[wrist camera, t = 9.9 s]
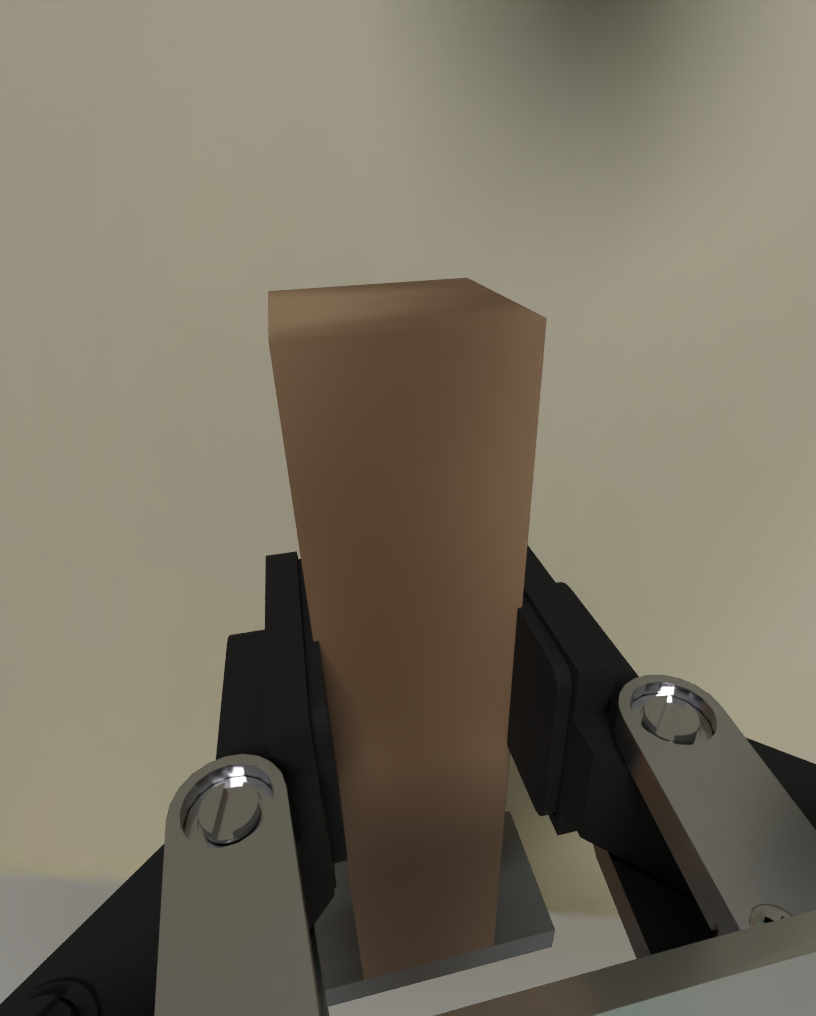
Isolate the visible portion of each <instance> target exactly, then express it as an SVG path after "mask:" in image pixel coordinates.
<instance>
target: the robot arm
mask: <svg viewBox="0 0 816 1016" xmlns="http://www.w3.org/2000/svg"><path fill="white" fill-rule="evenodd" d="M507 746H508V748H509V750H510V753H511V755H512V757H513V759H514V762H515V764H516V766H517V769H518V771H519V773H520V776H521V778H522V780H523V782H524V785H525V787H526V789H527V792H528V794H529V796H530V799H531V801H532V803H533V805H534V808H535V810H536V812H537V813H538V814H539V815H540V816H544V815H549V817H550V820H551V822H552V824H553V826H554V828H555V831H556V833H557V835H561V834H565V833H570V832H574V831H578V834H579V836H580V837H581V838H583V839H585V840H587V841H589V842H591V843H592V844H593V845H594V849H595V854H596V857H597V860H598V862H599V865H600V867H601V870H602V872H603V875H604V877H605V880H606V883H607V885H608V888H609V890H610V893H611V895H612V898H613V900H614V903H615V905H616V908H617V910H618V913H619V915H620V918H621V920H622V923H623V925H624V928H625V930H626V933H627V935H628V938H629V941H630V943H631V946H632V948H633V951H634V953H635V956H636V958H637V959H635V960H632V961H628V962H624V963H621V964H618V965H614V966H610V967H606V968H603V969H600V970H596V971H592V972H588V973H585V974H581V975H578V976H574V977H571V978H567V979H563V980H560V981H557V982H553V983H549V984H546V985H542V986H538V987H535V988H532V989H528V990H524V991H521V992H517V993H514V994H510V995H506V996H503V997H499V998H496V999H492V1000H488V1001H485V1002H482V1003H478V1004H474V1005H471V1006H467V1007H463V1008H460V1009H456V1010H453V1011H450V1012H446V1013H442V1014H439V1015H436V1016H816V764H814V763H811V762H808V761H806V760H803V759H801V758H798V757H795V756H793V755H790V754H787V753H785V752H782V751H779V750H777V749H774V748H772V747H769V746H766V745H764V744H761V743H758V742H756V741H753V740H751V739H748V738H745V736H744V735H743V734H742V733H741V731H740V730H739V729H738V727H737V726H736V725H735V723H734V722H733V721H732V719H731V718H730V717H729V715H728V714H727V713H726V711H725V710H724V709H723V708H722V706H721V705H720V704H719V703H718V702H717V701H716V700H715V699H714V698H713V697H712V696H711V695H710V694H709V693H707V692H706V691H704V690H703V689H701V688H700V687H698V686H697V685H695V684H692V683H690V682H687V681H685V680H683V679H680V678H676V677H671V676H667V675H645V676H641V677H639V676H638V675H637V674H636V672H635V671H634V670H633V669H632V667H631V666H630V665H629V663H628V662H627V661H626V660H625V658H624V657H623V656H622V654H621V653H620V652H619V650H618V649H617V648H616V647H615V645H614V644H613V643H612V641H611V640H610V639H609V638H608V636H607V635H606V634H605V632H604V631H603V630H602V628H601V627H600V626H599V625H598V623H597V622H596V621H595V619H594V618H593V617H592V616H591V614H590V613H589V612H588V610H587V609H586V608H585V606H584V605H583V604H582V603H581V601H580V600H579V599H578V597H577V596H576V595H575V594H574V592H573V591H572V590H571V588H570V587H569V586H568V585H567V584H566V583H562V582H558V583H556V582H555V581H554V580H553V578H552V577H551V576H550V574H549V573H548V572H547V570H546V569H545V568H544V566H543V565H542V564H541V562H540V561H539V560H538V558H537V557H536V556H535V554H534V553H533V552H532V550H531V549H530V548H529V546H528V545H527V555H526V567H525V579H524V591H523V603H522V607H520V608H518V609H517V621H516V634H515V646H514V659H513V672H512V684H511V697H510V709H509V722H508V735H507ZM344 861H348V856H347V848H346V839H345V831H344V822H343V814H342V805H341V797H340V789H339V780H338V773H337V766H336V759H335V752H334V745H333V738H332V731H331V724H330V717H329V710H328V703H327V696H326V689H325V682H324V675H323V668H322V661H321V654H320V647H319V641H315V642H313V635H312V629H311V622H310V615H309V608H308V602H307V595H306V588H305V582H304V575H303V568H302V561H301V559H298V556H297V552H290V553H283V554H276V555H268V556H266V585H265V630H259V631H253V632H247V633H240V634H234V635H230V636H229V637H228V641H227V650H226V660H225V671H224V681H223V691H222V702H221V712H220V723H219V733H218V744H217V754H216V760H215V761H213V762H210V763H208V764H206V765H205V766H203V767H202V768H200V769H199V770H197V771H196V772H194V773H193V774H192V775H191V776H190V777H189V778H188V779H187V780H186V781H185V782H184V783H183V784H182V785H181V786H180V787H179V789H178V791H177V792H176V794H175V796H174V798H173V799H172V801H171V803H170V806H169V810H168V814H167V818H166V828H165V844H164V845H163V846H162V847H160V848H159V849H158V850H157V851H156V852H155V853H154V854H153V855H152V856H151V857H150V858H149V859H148V860H147V861H146V862H145V863H144V864H143V865H142V866H141V867H140V868H139V869H138V870H137V871H136V872H135V873H134V874H133V875H132V876H131V877H130V878H129V879H128V880H127V881H126V882H125V883H124V884H123V885H122V886H121V887H120V888H119V889H118V890H117V891H116V892H115V893H114V894H113V895H111V897H110V898H108V899H107V900H106V901H105V902H104V904H102V905H101V906H100V907H99V908H98V909H97V910H96V911H95V912H94V913H93V914H92V915H91V916H90V917H89V918H88V919H87V920H86V921H85V922H84V923H83V924H82V925H81V926H80V927H79V928H78V929H77V930H76V931H75V932H74V933H73V934H72V935H71V936H70V937H69V938H68V939H67V940H66V941H65V942H63V943H62V945H60V947H58V948H57V949H56V950H55V951H54V952H53V953H52V954H51V955H50V956H49V957H48V958H47V959H46V960H45V961H44V962H43V963H42V964H41V965H40V966H39V967H38V968H37V969H36V970H35V971H34V972H33V973H32V974H31V975H30V976H29V977H28V978H27V979H26V980H25V981H24V982H23V983H22V984H21V985H20V986H19V987H18V988H17V989H15V991H14V992H12V994H10V995H9V996H8V997H7V998H6V999H5V1000H4V1001H3V1002H2V1003H1V1004H0V1016H329V1011H328V1004H327V998H326V992H325V985H324V979H323V972H322V966H321V959H320V953H319V947H318V940H317V934H316V927H315V923H316V921H317V920H318V919H319V917H320V916H321V914H322V913H323V912H324V910H325V909H326V907H327V906H328V904H329V903H330V902H331V900H332V899H333V897H334V896H335V892H334V888H337V887H336V876H335V866H334V864H335V863H339V862H344Z"/></svg>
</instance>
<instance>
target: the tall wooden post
mask: <svg viewBox="0 0 816 1016" xmlns="http://www.w3.org/2000/svg"><path fill="white" fill-rule="evenodd" d="M545 329H546V318H545V317H543V316H541V315H539V314H537V313H535V312H533V311H531V310H529V309H527V308H526V307H524V306H522V305H520V304H518V303H516V302H514V301H512V300H510V299H508V298H506V297H504V296H502V295H500V294H498V293H496V292H494V291H492V290H490V289H488V288H486V287H484V286H482V285H480V284H478V283H476V282H474V281H472V280H470V279H468V278H457V279H442V280H428V281H413V282H398V283H383V284H368V285H354V286H339V287H324V288H309V289H295V290H280V291H268V333H269V347H270V354H271V360H272V367H273V374H274V381H275V387H276V394H277V401H278V407H279V414H280V421H281V427H282V434H283V441H284V448H285V454H286V461H287V468H288V474H289V481H290V488H291V494H292V501H293V508H294V515H295V521H296V528H297V535H298V541H299V548H300V555H301V561H302V568H303V575H304V582H305V588H306V595H307V602H308V608H309V615H310V622H311V629H312V635H313V642H315V641H319V647H320V654H321V661H322V668H323V675H324V682H325V689H326V696H327V703H328V710H329V717H330V724H331V731H332V738H333V745H334V752H335V759H336V766H337V773H338V780H339V789H340V797H341V805H342V814H343V822H344V831H345V839H346V848H347V856H348V861H344V862H339V863H335V864H334V866H335V876H336V887H337V888H334V892H335V896H334V897H333V899H332V900H331V902H330V903H329V904H328V906H327V907H326V909H325V910H324V912H323V913H322V914H321V916H320V917H319V919H318V920H317V921H316V923H315V927H316V934H317V940H318V947H319V953H320V959H321V966H322V972H323V979H324V985H325V992H326V998H327V1004H328V1006H332V1005H336V1004H340V1003H343V1002H347V1001H350V1000H355V999H358V998H362V997H365V996H370V995H373V994H377V993H381V992H384V991H388V990H392V989H396V988H399V987H403V986H407V985H411V984H414V983H418V982H422V981H425V980H429V979H433V978H437V977H441V976H444V975H448V974H452V973H455V972H459V971H463V970H467V969H471V968H474V967H478V966H482V965H485V964H489V963H493V962H497V961H500V960H504V959H508V958H511V957H515V956H519V955H523V954H527V953H530V952H534V951H538V950H541V949H545V948H549V947H552V943H553V937H554V932H555V929H554V926H553V924H552V921H551V919H550V916H549V913H548V911H547V908H546V905H545V903H544V900H543V897H542V895H541V892H540V890H539V887H538V884H537V882H536V879H535V876H534V874H533V871H532V869H531V866H530V863H529V861H528V858H527V856H526V853H525V850H524V848H523V845H522V842H521V840H520V837H519V835H518V832H517V829H516V827H515V824H514V821H513V819H512V816H511V814H510V811H508V812H505V804H506V792H507V781H508V769H509V757H510V750H509V748H508V746H507V735H508V722H509V709H510V697H511V684H512V672H513V659H514V646H515V634H516V621H517V609H518V608H520V607H522V603H523V591H524V579H525V567H526V555H527V543H528V531H529V519H530V508H531V496H532V484H533V472H534V460H535V448H536V436H537V424H538V413H539V401H540V389H541V377H542V365H543V353H544V341H545Z"/></svg>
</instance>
